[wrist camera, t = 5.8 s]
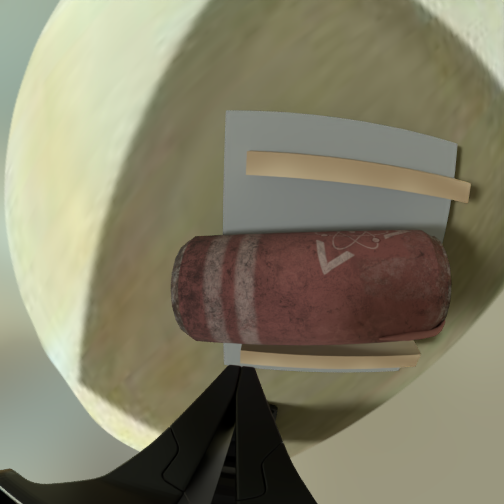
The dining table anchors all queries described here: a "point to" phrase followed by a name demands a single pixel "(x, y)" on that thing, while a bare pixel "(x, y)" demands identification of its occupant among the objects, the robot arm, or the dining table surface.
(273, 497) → the robot arm
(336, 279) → the can
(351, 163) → the tray
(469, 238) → the dining table surface
